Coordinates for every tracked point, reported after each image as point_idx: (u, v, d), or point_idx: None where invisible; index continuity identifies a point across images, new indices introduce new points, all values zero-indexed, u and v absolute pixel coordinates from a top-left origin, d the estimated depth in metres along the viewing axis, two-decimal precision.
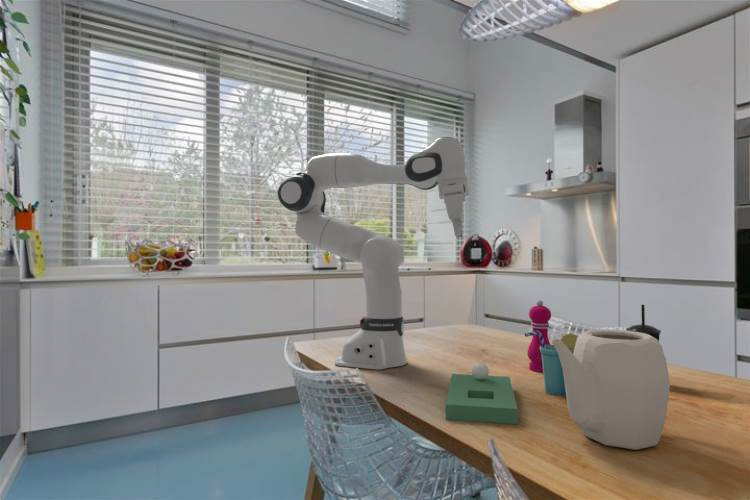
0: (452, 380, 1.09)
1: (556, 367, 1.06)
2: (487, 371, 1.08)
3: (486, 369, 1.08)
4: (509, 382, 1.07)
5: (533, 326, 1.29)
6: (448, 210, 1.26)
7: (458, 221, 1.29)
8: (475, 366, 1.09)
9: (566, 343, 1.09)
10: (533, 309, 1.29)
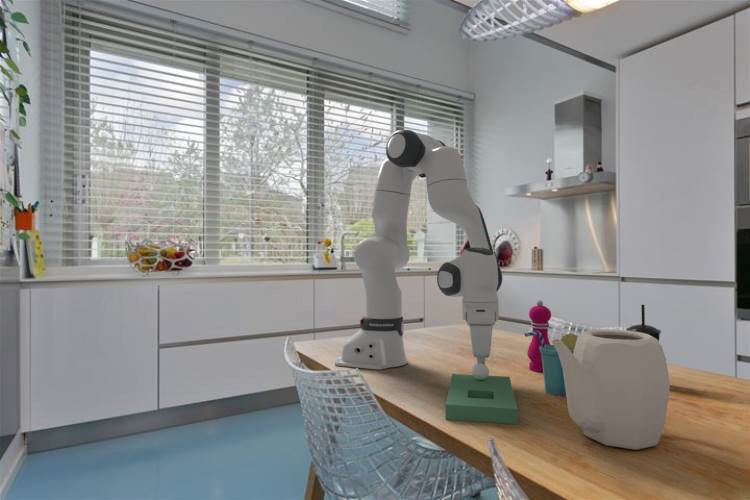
0: (452, 380, 1.09)
1: (556, 367, 1.06)
2: (487, 372, 1.08)
3: (486, 370, 1.08)
4: (509, 382, 1.07)
5: (533, 326, 1.29)
6: (474, 347, 1.03)
7: None
8: (475, 367, 1.08)
9: (566, 343, 1.09)
10: (533, 309, 1.29)
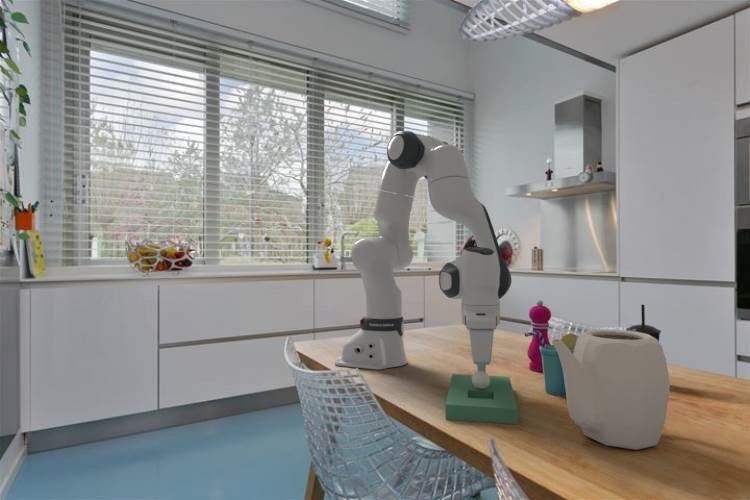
0: (452, 380, 1.09)
1: (556, 367, 1.06)
2: None
3: None
4: (509, 382, 1.07)
5: (533, 326, 1.29)
6: (473, 353, 0.96)
7: None
8: None
9: (566, 343, 1.09)
10: (533, 309, 1.29)
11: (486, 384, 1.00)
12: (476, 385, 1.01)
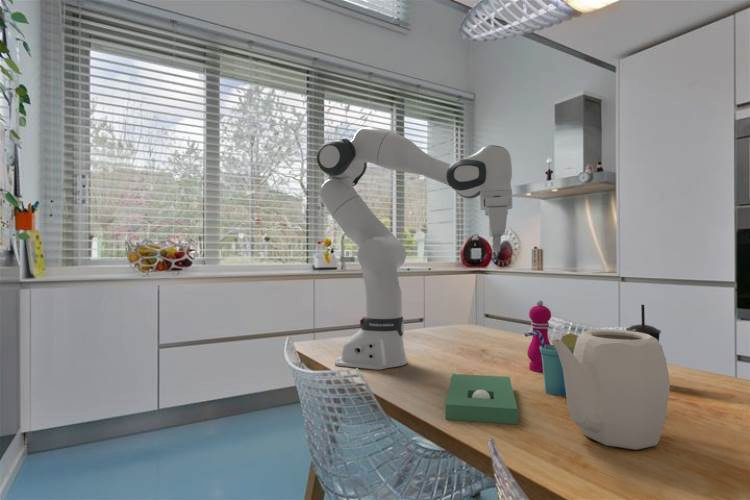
0: (452, 380, 1.09)
1: (556, 367, 1.06)
2: None
3: None
4: (509, 382, 1.07)
5: (533, 326, 1.29)
6: (491, 224, 1.19)
7: (499, 237, 1.26)
8: None
9: (566, 343, 1.09)
10: (533, 309, 1.29)
11: None
12: None
